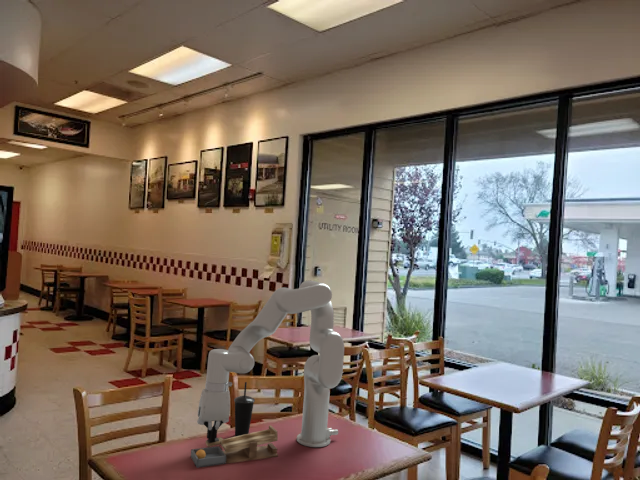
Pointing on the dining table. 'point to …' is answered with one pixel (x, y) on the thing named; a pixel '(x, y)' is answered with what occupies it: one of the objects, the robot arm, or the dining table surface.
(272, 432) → the lever
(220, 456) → the tray
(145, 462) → the dining table surface
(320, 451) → the dining table surface
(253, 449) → the catapult base
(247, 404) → the drinking cup
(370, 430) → the dining table surface
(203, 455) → the ball
